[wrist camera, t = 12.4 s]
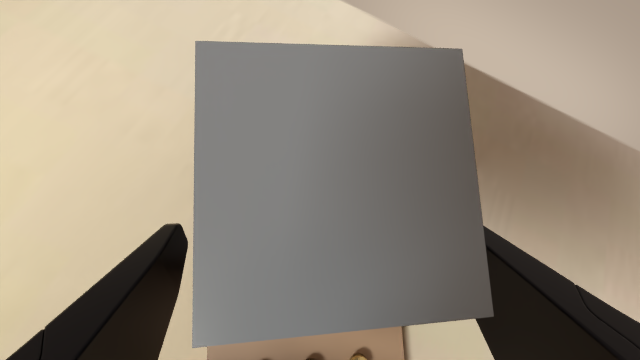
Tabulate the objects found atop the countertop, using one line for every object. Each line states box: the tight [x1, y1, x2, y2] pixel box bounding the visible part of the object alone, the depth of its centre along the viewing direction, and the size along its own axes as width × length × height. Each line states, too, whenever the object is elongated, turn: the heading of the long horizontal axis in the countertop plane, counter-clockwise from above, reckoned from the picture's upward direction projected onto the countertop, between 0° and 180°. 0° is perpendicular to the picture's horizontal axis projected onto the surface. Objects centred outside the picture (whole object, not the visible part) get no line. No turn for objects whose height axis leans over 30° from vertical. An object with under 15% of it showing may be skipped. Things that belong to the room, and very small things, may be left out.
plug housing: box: [192, 41, 494, 348], centre depth 10 cm, size 4×4×13 cm
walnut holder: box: [207, 326, 404, 360], centre depth 15 cm, size 19×12×4 cm, turn 3°
